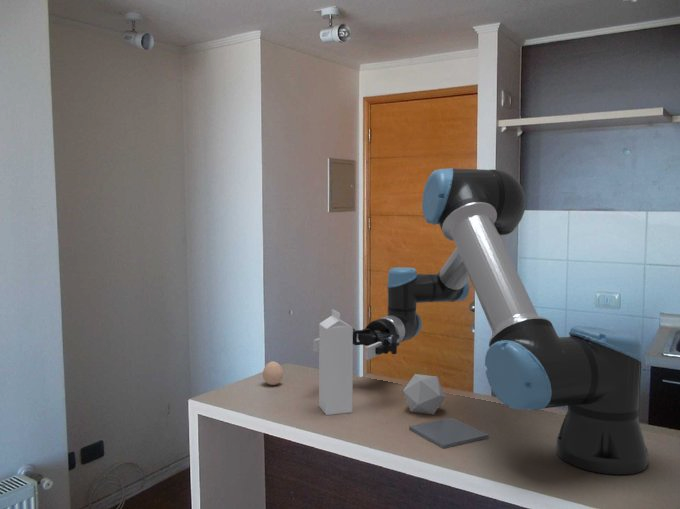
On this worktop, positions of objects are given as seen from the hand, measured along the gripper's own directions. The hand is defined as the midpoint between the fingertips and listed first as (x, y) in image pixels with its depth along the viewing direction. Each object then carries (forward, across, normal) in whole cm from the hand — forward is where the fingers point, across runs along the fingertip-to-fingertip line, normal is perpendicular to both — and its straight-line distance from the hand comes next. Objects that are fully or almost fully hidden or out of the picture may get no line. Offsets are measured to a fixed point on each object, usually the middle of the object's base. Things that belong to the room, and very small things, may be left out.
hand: (339, 349), depth 137 cm
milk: (+2, 0, -13) cm, 13 cm away
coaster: (+3, -27, -13) cm, 30 cm away
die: (-7, -17, -13) cm, 23 cm away
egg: (-5, +23, -13) cm, 27 cm away
